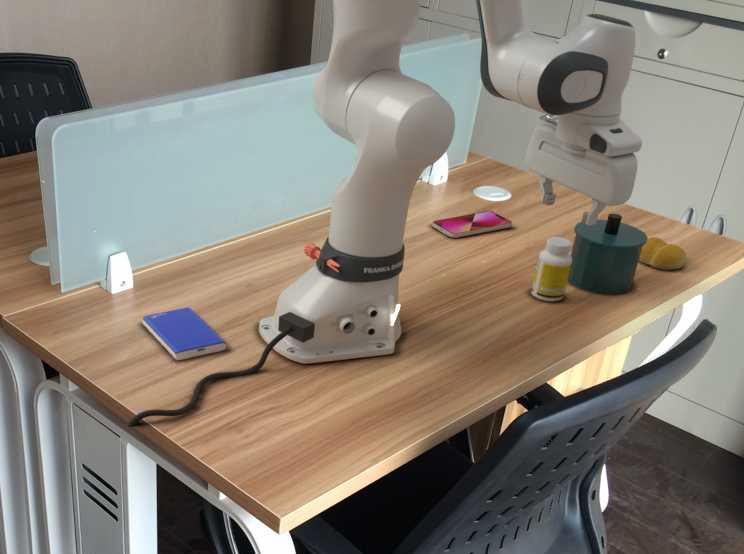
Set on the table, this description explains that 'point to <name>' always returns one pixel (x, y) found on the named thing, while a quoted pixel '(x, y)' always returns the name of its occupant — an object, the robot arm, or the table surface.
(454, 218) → the smartphone
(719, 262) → the table surface
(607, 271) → the pot
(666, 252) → the bread roll
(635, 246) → the pot lid
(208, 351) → the hard drive
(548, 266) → the supplement bottle
